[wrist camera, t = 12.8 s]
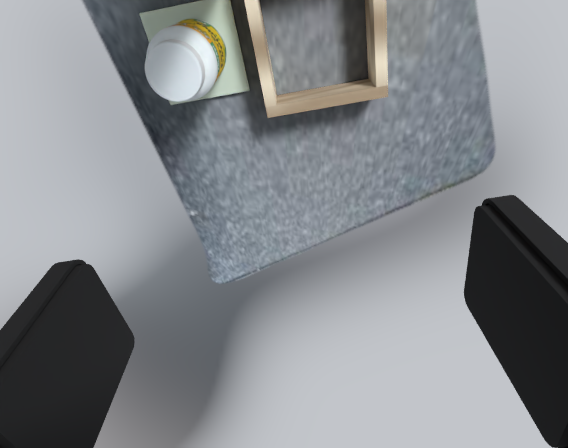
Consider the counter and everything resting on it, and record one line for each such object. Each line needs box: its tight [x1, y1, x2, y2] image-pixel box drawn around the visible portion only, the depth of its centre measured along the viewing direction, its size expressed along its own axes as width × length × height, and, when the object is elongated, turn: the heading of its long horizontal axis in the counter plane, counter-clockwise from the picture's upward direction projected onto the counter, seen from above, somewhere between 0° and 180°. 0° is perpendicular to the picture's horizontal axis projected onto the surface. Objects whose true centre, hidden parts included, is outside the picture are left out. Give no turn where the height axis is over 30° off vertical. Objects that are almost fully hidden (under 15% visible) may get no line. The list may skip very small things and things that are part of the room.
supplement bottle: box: [145, 18, 227, 102], centre depth 30 cm, size 5×5×10 cm
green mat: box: [139, 0, 250, 105], centre depth 34 cm, size 8×8×1 cm
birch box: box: [244, 0, 388, 118], centre depth 32 cm, size 12×11×4 cm
